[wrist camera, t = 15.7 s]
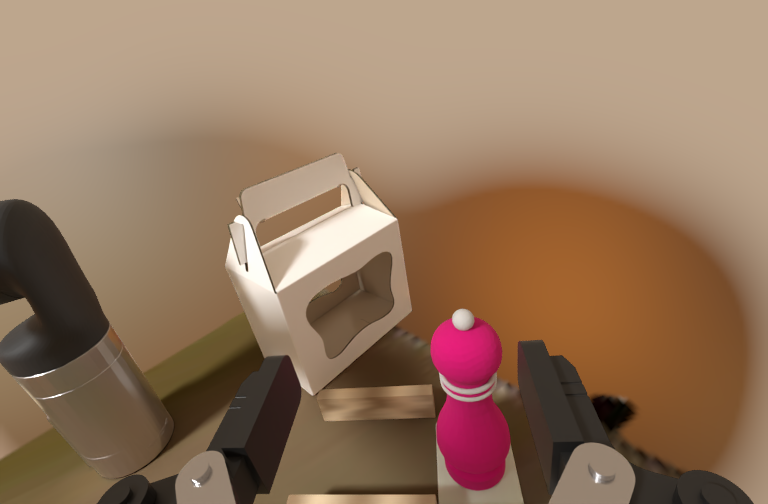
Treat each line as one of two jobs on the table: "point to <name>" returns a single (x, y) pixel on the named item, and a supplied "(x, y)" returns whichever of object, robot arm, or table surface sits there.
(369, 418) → the oak channel
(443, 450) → the pepper mill
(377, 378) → the table surface
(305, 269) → the gable box
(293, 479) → the table surface
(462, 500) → the sage pad
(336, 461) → the table surface
